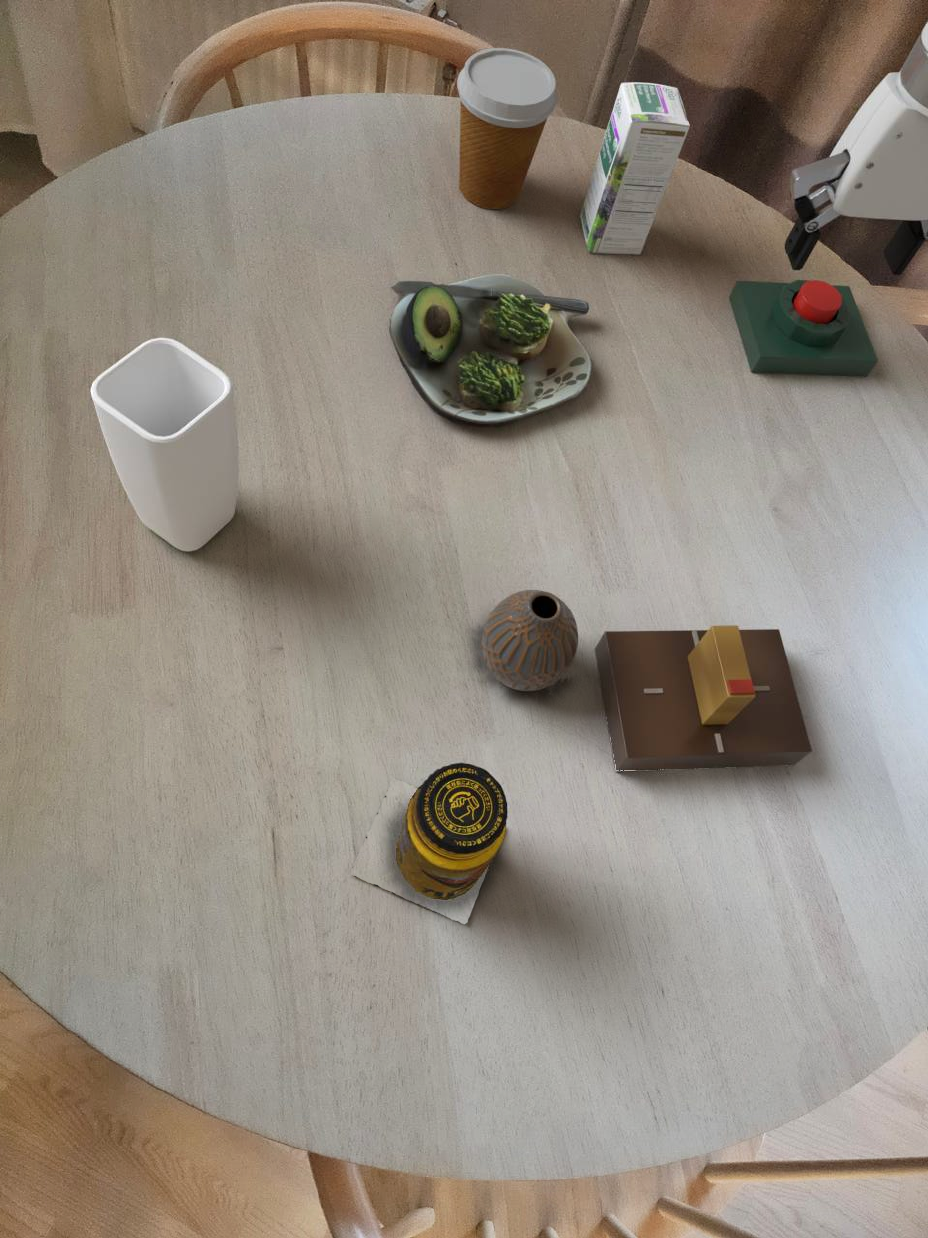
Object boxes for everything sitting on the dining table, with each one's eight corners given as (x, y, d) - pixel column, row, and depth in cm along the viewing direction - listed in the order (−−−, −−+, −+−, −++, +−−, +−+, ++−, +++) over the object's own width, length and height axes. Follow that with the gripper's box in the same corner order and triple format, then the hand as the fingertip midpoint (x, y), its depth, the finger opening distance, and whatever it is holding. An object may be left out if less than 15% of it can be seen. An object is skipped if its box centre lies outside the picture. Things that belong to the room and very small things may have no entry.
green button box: (838, 302, 97) (858, 271, 93) (866, 377, 92) (888, 347, 89) (728, 297, 95) (744, 265, 91) (751, 373, 90) (768, 342, 87)
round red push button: (827, 294, 92) (835, 280, 90) (838, 325, 90) (847, 311, 88) (788, 292, 91) (796, 278, 89) (799, 323, 89) (807, 309, 88)
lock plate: (763, 646, 76) (780, 627, 73) (794, 765, 71) (813, 750, 68) (594, 649, 73) (605, 630, 71) (615, 772, 69) (627, 757, 66)
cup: (186, 464, 76) (160, 327, 63) (256, 513, 75) (244, 384, 62) (119, 521, 73) (77, 389, 60) (190, 573, 72) (163, 450, 59)
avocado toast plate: (544, 261, 94) (554, 222, 90) (635, 393, 87) (650, 357, 83) (363, 304, 87) (365, 264, 83) (446, 449, 81) (453, 414, 77)
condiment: (466, 927, 62) (497, 885, 52) (348, 875, 63) (355, 823, 52) (504, 826, 66) (540, 768, 55) (392, 778, 66) (407, 712, 56)
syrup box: (577, 215, 98) (617, 78, 85) (632, 217, 99) (679, 83, 86) (587, 254, 95) (629, 119, 82) (643, 256, 96) (693, 123, 83)
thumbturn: (686, 656, 71) (712, 623, 66) (712, 656, 71) (739, 623, 66) (701, 725, 68) (729, 696, 64) (728, 724, 68) (757, 695, 64)
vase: (517, 721, 70) (542, 670, 62) (456, 654, 72) (474, 596, 64) (583, 669, 72) (614, 615, 65) (522, 606, 74) (546, 546, 67)
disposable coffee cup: (503, 234, 95) (527, 122, 84) (425, 189, 96) (438, 74, 86) (551, 187, 99) (579, 76, 89) (475, 146, 101) (494, 31, 90)
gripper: (1038, 55, 73) (915, 237, 88) (833, 36, 70) (742, 227, 85) (1077, 117, 70) (942, 295, 85) (862, 99, 67) (762, 287, 82)
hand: (842, 261), depth 85 cm, fingers open, 9 cm apart
